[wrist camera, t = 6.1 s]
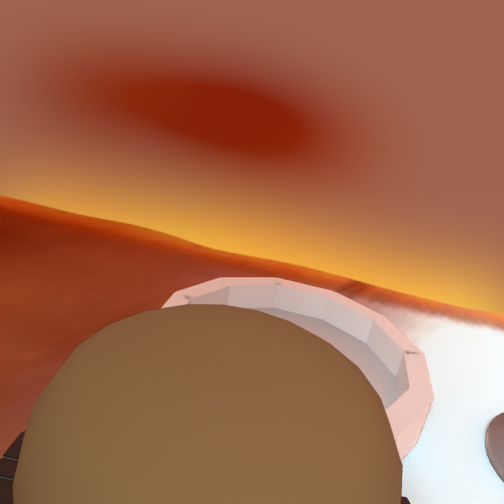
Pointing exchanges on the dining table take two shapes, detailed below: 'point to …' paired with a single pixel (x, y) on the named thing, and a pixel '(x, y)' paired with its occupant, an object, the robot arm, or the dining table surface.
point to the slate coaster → (496, 444)
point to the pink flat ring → (338, 340)
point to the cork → (208, 417)
